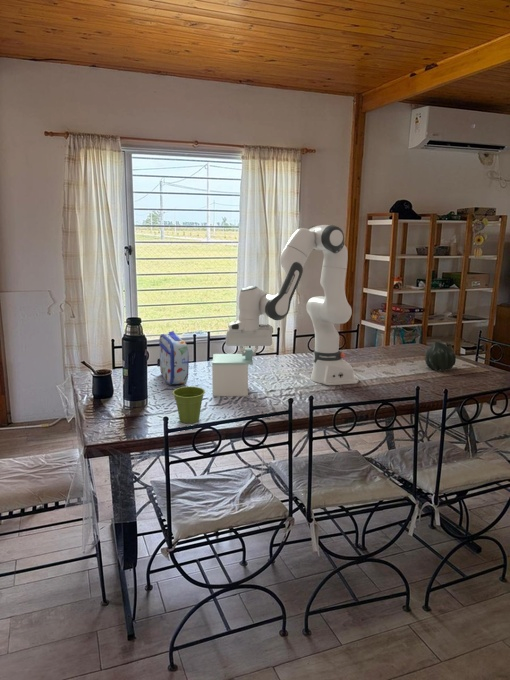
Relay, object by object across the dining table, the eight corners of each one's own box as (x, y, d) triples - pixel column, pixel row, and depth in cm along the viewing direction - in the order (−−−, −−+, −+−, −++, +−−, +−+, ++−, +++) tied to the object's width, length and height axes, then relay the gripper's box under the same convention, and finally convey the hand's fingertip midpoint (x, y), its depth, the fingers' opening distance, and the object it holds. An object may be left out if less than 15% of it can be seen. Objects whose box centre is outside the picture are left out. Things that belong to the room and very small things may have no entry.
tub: (246, 385, 229) (247, 355, 226) (247, 395, 215) (247, 364, 212) (213, 385, 228) (213, 355, 225) (212, 396, 215) (212, 364, 211)
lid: (251, 355, 226) (251, 345, 225) (252, 364, 212) (252, 353, 211) (213, 355, 226) (213, 345, 224) (212, 364, 211) (212, 353, 210)
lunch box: (156, 372, 248) (154, 328, 243) (176, 370, 251) (175, 327, 247) (169, 389, 223) (167, 340, 218) (191, 386, 227) (190, 339, 222)
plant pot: (167, 423, 185) (166, 394, 182) (183, 412, 195) (182, 384, 193) (196, 428, 181) (195, 398, 178) (210, 416, 191) (210, 388, 189)
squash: (466, 361, 253) (450, 335, 259) (448, 366, 245) (432, 340, 250) (446, 373, 264) (432, 349, 269) (428, 379, 256) (413, 354, 261)
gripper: (272, 323, 219) (272, 353, 222) (225, 322, 218) (225, 353, 221) (273, 325, 213) (273, 357, 216) (225, 325, 212) (225, 357, 215)
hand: (248, 355), depth 218 cm, fingers closed on lid, 3 cm apart
